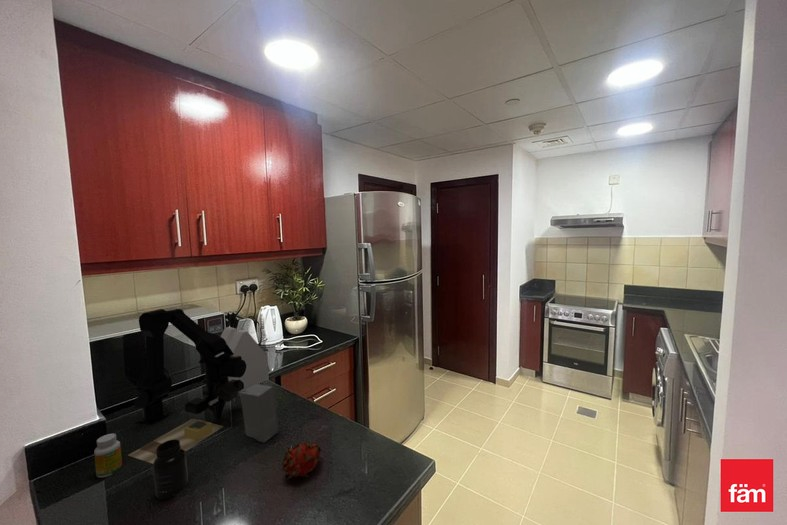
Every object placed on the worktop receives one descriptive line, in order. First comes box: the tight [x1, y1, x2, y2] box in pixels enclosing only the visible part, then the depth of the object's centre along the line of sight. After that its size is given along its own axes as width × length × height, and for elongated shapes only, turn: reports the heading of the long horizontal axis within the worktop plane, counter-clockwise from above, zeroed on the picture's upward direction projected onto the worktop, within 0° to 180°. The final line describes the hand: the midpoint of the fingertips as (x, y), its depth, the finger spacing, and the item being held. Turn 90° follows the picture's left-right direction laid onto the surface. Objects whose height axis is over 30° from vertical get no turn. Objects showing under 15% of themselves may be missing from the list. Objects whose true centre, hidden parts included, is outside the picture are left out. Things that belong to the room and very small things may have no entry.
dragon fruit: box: [281, 441, 322, 479], centre depth 84 cm, size 8×8×12 cm
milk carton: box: [215, 326, 270, 394], centre depth 139 cm, size 19×15×25 cm
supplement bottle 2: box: [152, 439, 189, 501], centre depth 79 cm, size 7×7×12 cm
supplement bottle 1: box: [93, 433, 123, 479], centre depth 86 cm, size 5×5×10 cm
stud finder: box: [184, 419, 213, 441], centre depth 101 cm, size 6×5×4 cm
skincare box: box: [239, 384, 280, 444], centre depth 100 cm, size 8×7×16 cm
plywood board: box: [127, 418, 224, 465], centre depth 98 cm, size 21×20×1 cm
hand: (218, 419), depth 108 cm, fingers closed
